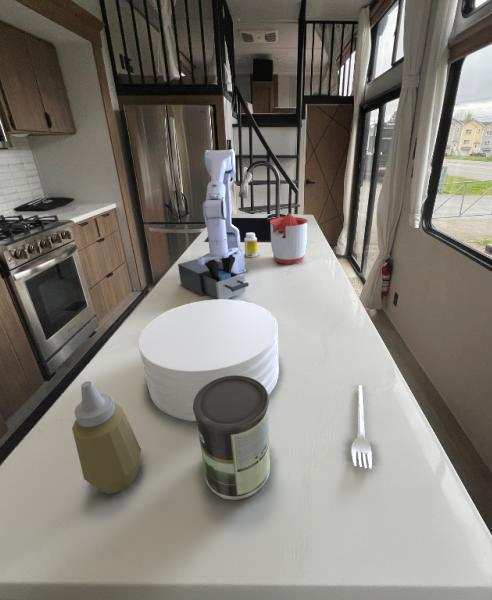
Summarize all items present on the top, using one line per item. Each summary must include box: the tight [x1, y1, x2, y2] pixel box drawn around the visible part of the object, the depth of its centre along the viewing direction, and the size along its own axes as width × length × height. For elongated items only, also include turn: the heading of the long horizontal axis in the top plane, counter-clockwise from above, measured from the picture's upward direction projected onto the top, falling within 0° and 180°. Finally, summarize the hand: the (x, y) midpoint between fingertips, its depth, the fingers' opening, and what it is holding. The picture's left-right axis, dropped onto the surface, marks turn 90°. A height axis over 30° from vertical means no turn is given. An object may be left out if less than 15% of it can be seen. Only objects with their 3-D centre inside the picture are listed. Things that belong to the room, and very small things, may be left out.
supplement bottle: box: [244, 232, 259, 258], centre depth 145 cm, size 6×6×10 cm
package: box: [212, 271, 231, 281], centre depth 107 cm, size 4×5×4 cm
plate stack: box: [137, 298, 280, 422], centre depth 69 cm, size 28×28×12 cm
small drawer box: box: [177, 258, 223, 297], centre depth 115 cm, size 14×12×8 cm
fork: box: [350, 384, 373, 470], centre depth 57 cm, size 3×20×2 cm, turn 167°
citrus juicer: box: [269, 212, 309, 265], centre depth 135 cm, size 16×17×20 cm
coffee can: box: [193, 375, 271, 501], centre depth 47 cm, size 10×10×14 cm
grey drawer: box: [201, 268, 249, 300], centre depth 107 cm, size 17×10×6 cm, turn 44°
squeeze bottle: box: [71, 380, 142, 495], centre depth 46 cm, size 8×8×18 cm
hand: (221, 279), depth 107 cm, fingers closed on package, 4 cm apart
